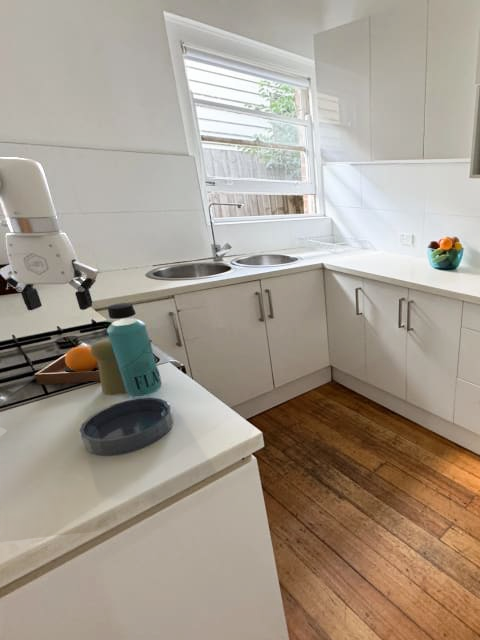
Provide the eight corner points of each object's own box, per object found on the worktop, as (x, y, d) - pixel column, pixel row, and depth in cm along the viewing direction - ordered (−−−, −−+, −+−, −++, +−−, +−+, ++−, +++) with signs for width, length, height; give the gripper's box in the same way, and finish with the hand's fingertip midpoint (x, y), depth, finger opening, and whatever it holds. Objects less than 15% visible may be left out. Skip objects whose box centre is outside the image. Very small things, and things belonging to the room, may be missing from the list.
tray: (37, 384, 83) (33, 374, 82) (70, 361, 93) (67, 352, 92) (105, 381, 85) (102, 371, 84) (130, 359, 95) (127, 350, 94)
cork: (142, 384, 84) (129, 339, 80) (113, 397, 79) (96, 349, 75) (125, 378, 86) (111, 333, 82) (95, 390, 81) (79, 343, 77)
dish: (67, 459, 62) (60, 444, 61) (111, 413, 74) (106, 400, 73) (155, 451, 64) (151, 437, 63) (184, 408, 76) (181, 395, 75)
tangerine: (65, 377, 86) (54, 359, 82) (78, 358, 90) (68, 340, 86) (96, 378, 88) (86, 360, 84) (107, 359, 92) (99, 341, 88)
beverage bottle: (138, 406, 76) (109, 312, 68) (121, 397, 79) (91, 306, 71) (171, 392, 82) (147, 303, 74) (153, 384, 85) (129, 297, 77)
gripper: (-34, 226, 71) (0, 314, 77) (72, 229, 74) (96, 313, 80) (-1, 223, 78) (27, 303, 84) (94, 225, 81) (115, 303, 87)
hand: (61, 308), depth 82 cm, fingers open, 9 cm apart
